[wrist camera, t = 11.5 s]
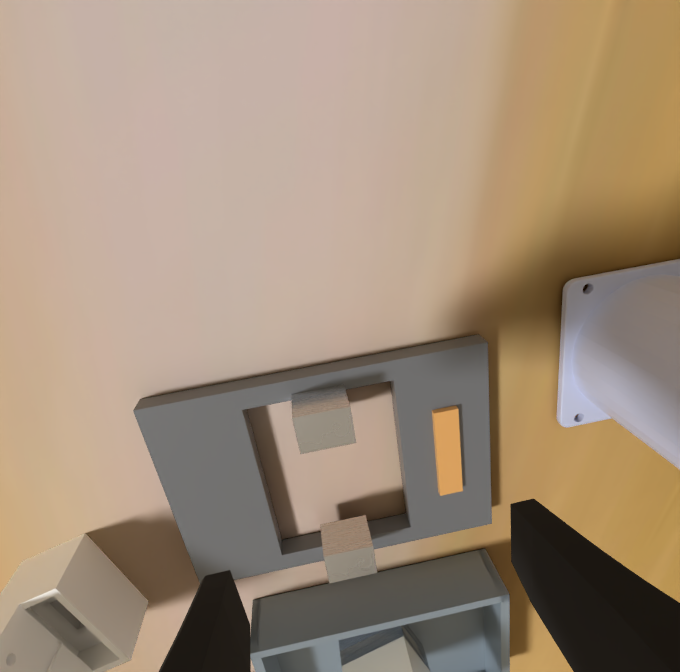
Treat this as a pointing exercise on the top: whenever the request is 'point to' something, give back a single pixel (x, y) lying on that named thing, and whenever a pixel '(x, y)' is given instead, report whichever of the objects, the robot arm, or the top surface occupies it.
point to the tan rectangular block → (384, 652)
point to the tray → (391, 617)
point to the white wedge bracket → (69, 612)
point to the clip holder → (318, 434)
